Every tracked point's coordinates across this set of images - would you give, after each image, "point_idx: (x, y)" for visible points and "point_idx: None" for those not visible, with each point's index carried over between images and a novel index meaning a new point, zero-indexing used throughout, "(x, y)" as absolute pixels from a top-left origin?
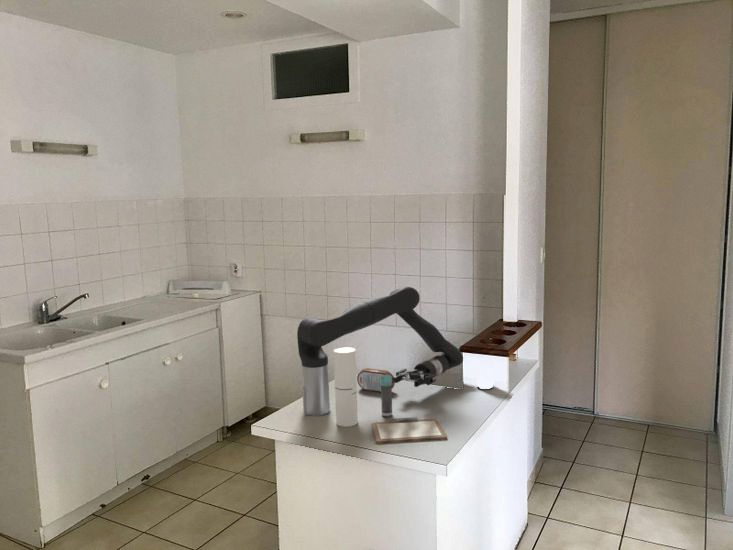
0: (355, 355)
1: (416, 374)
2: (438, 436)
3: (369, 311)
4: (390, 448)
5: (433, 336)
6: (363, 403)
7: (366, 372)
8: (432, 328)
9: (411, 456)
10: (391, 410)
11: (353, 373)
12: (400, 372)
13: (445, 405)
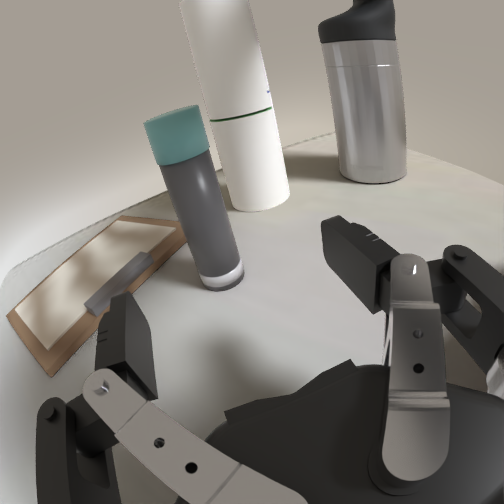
0: (191, 12)
1: (272, 420)
2: (20, 303)
3: None
4: (92, 232)
5: None
6: (397, 250)
7: None
8: None
9: (52, 247)
10: (196, 265)
11: (194, 62)
12: (467, 285)
13: None
